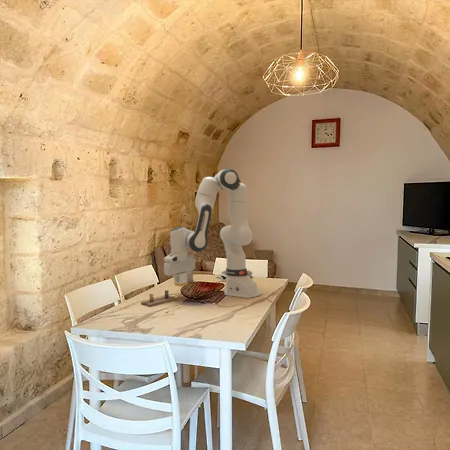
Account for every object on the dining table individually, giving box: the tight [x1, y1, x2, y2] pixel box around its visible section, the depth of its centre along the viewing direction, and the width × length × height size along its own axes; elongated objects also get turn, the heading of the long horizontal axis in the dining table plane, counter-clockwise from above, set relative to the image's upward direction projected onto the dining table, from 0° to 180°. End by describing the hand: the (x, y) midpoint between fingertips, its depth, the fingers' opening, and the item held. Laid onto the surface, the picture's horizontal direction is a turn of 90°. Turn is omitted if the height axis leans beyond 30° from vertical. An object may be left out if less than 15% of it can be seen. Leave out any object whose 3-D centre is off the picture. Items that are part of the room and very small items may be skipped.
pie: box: [216, 270, 253, 281], centre depth 277 cm, size 28×27×5 cm
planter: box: [187, 270, 194, 284], centre depth 266 cm, size 11×11×10 cm
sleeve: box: [174, 272, 189, 287], centre depth 225 cm, size 5×5×7 cm
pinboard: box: [140, 290, 178, 308], centre depth 216 cm, size 8×18×5 cm, turn 136°
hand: (180, 280), depth 226 cm, fingers closed on sleeve, 5 cm apart
